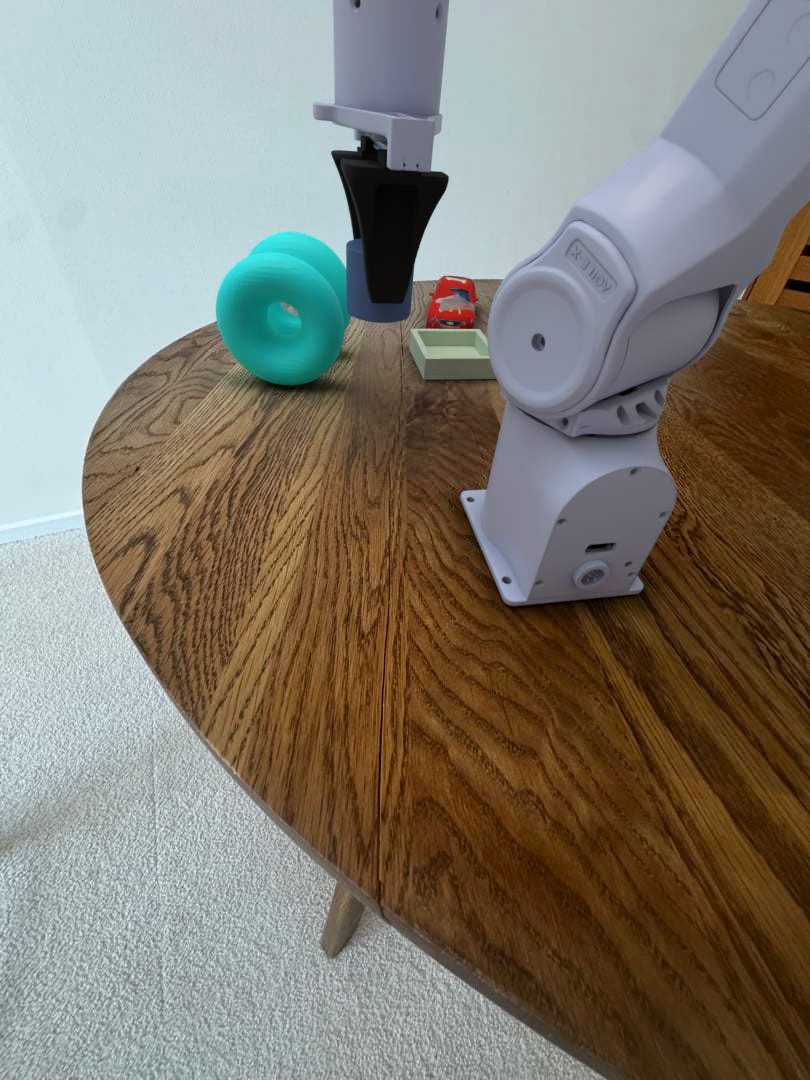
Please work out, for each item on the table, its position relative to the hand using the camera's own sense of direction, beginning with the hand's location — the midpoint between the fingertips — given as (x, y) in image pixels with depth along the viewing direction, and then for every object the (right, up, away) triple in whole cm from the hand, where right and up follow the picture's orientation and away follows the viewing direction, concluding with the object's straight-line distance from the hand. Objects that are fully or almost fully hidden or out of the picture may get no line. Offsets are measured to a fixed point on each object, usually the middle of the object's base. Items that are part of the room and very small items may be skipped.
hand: (380, 289), depth 34 cm
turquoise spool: (-8, -1, +12) cm, 15 cm away
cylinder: (0, -1, +1) cm, 1 cm away
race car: (+7, +8, +24) cm, 27 cm away
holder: (+6, 0, +15) cm, 16 cm away
